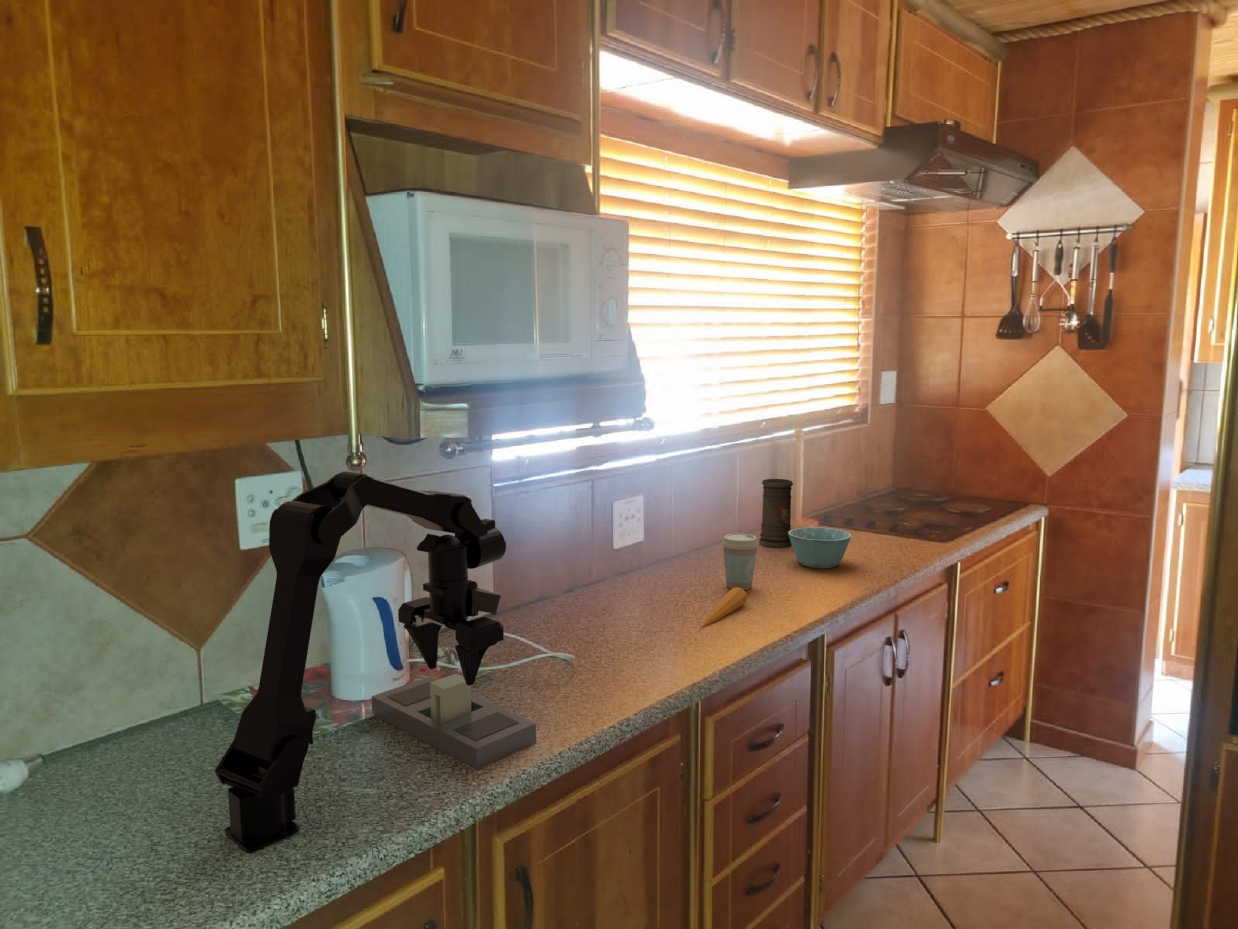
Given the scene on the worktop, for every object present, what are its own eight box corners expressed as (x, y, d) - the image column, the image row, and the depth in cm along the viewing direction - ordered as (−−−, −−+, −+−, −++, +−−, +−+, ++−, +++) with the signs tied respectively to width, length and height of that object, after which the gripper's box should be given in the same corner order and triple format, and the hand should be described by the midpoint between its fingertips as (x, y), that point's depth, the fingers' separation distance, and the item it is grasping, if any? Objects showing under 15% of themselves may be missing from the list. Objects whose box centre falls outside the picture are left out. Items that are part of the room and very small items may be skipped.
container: (756, 546, 251) (758, 482, 248) (762, 539, 259) (764, 477, 256) (789, 548, 248) (791, 484, 245) (793, 541, 256) (795, 479, 254)
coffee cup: (748, 594, 206) (750, 543, 204) (714, 588, 210) (715, 538, 208) (763, 585, 213) (764, 535, 211) (730, 579, 217) (731, 531, 216)
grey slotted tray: (476, 769, 124) (476, 748, 124) (372, 714, 142) (371, 695, 141) (536, 742, 132) (535, 722, 132) (430, 693, 150) (429, 676, 149)
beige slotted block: (445, 737, 134) (444, 689, 133) (431, 729, 136) (430, 682, 135) (471, 726, 137) (470, 680, 136) (457, 719, 140) (455, 673, 139)
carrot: (735, 605, 200) (728, 587, 200) (752, 601, 197) (745, 582, 197) (694, 640, 184) (686, 620, 184) (713, 636, 181) (704, 616, 181)
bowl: (778, 557, 238) (779, 527, 237) (834, 555, 241) (835, 525, 240) (800, 573, 223) (802, 541, 222) (860, 571, 226) (861, 539, 225)
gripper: (531, 577, 133) (532, 677, 135) (453, 555, 145) (456, 647, 148) (471, 593, 125) (473, 700, 127) (394, 568, 137) (398, 666, 140)
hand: (451, 676), depth 136 cm, fingers open, 9 cm apart
